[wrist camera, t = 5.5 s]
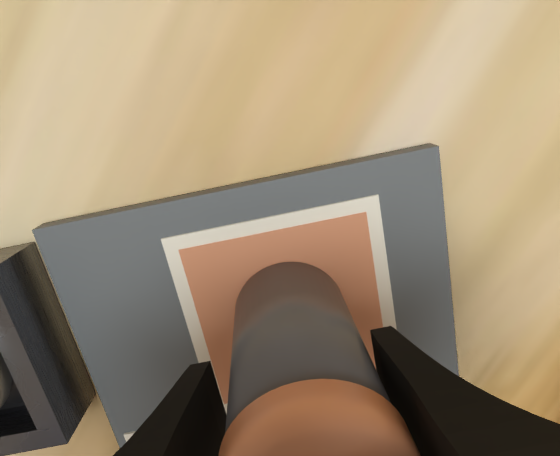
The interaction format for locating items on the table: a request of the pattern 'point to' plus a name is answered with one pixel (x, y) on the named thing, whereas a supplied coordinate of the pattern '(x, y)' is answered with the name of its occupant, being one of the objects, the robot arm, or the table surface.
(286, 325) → the grey canister
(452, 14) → the table surface
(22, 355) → the button housing
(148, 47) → the table surface
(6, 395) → the button
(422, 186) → the picture board
